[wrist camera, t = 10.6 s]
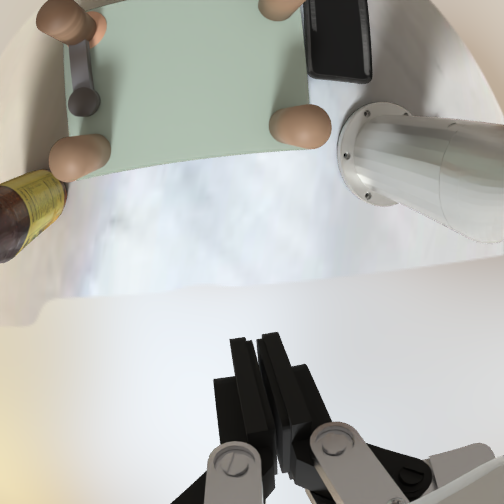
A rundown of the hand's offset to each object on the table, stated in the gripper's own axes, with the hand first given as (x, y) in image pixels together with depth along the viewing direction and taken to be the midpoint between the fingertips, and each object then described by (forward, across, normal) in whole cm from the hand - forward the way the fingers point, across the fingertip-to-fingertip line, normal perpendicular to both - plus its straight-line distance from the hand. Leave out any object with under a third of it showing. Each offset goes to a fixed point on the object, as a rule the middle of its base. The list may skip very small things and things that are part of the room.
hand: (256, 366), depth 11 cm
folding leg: (+22, +12, -17) cm, 30 cm away
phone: (+26, -15, -20) cm, 36 cm away
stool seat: (+25, +2, -14) cm, 29 cm away
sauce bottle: (+25, +19, -4) cm, 32 cm away
